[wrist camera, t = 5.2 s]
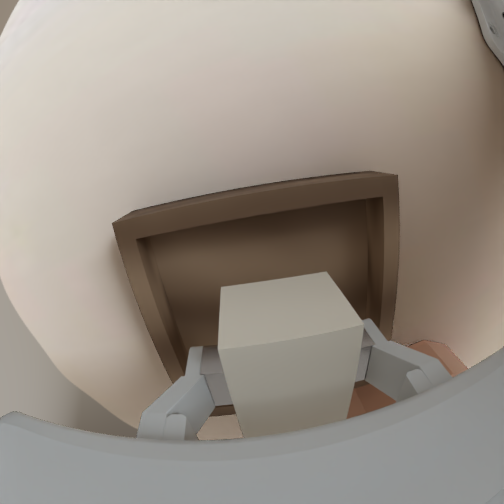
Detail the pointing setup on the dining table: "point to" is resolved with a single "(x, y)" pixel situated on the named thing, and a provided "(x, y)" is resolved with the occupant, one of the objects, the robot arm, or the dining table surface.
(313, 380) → the off-white cube block
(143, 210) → the walnut tray
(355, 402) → the terracotta bowl
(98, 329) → the dining table surface
